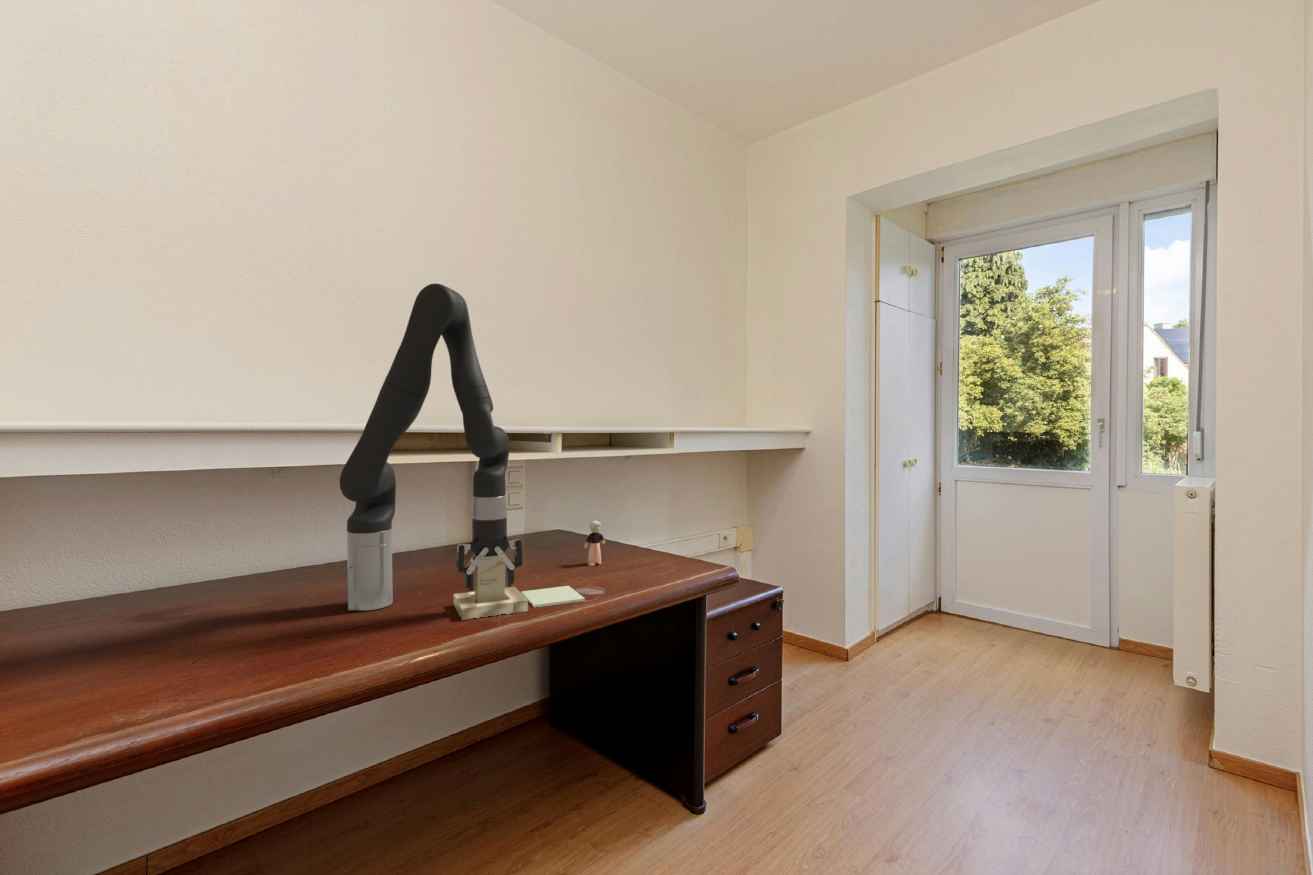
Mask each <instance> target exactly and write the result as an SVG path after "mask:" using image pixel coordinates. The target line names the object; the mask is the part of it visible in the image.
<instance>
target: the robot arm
mask: <svg viewBox="0 0 1313 875" xmlns="http://www.w3.org/2000/svg"><path fill="white" fill-rule="evenodd" d="M471 325H472V324H471V319H470V313H469V308H468V305H467V301H466V300H465V298H464V297H463V296H462V294H460V293H459V292H457V291H455V290H453V289H452V288H450V287H448V286H447V285H444V284H441V283H430V284H428V285H425V287H423V288H422V289H420V291H419V292H418V294H417V295H416V298H415V300H414V302H413V305H412V308H411V312H410V316H409V318H408V322H407V326H406V329H405V332H404V335H403V337H402V341H401V343H400V345H399V347H398V348H397V352H396V354H395V357H394V359H393V361H392V363H391V366H390V369H389V371H388V372H387V374H386V376H385V379H384V381H383V383H382V385H381V387H380V390H379V393H378V395H377V398H376V400H375V404H374V405H373V408H372V410H371V412H370V414H369V417H368V419H367V421H366V425H365V427H364V429H363V431H362V433H361V436H360V438H359V439H358V442H357V444H356V445H355V447H354V448H353V450H352V452H351V453H350V455H349V457H348V458H347V461H346V462H345V464H344V466H343V468H342V470H341V472H340V477H339V489H340V491H341V494H342V496H343V497H345V498H346V499H347V500H348V501H351V502H353V503H354V502H355V507H354V510H353V511H352V513H351V514H350V516H349V517H348V518H347V520H346V540H347V541H346V542H347V545H346V546H347V547H346V550H347V552H346V555H347V556H346V557H347V559H346V560H347V565H346V566H347V572H346V573H347V611H361V612H362V611H374V610H378V609H383V608H386V607H388V606H391V605H392V604H393V602H394V601H393V599H394V598H393V594H394V592H393V533H392V532H393V529H392V528H393V525H392V523H393V519H394V516H395V513H396V498H397V496H396V495H397V488H396V487H397V483H396V482H397V480H396V474H395V471H394V470H395V469H394V468H393V467H392V465H391V464H390V463H389V462H388V459H389V456H390V454H391V453H392V450H393V449H394V447H395V446H396V444H397V443H398V441H400V439H401V438H402V436H403V435H404V434H405V433H406V431H408V429H409V428H410V427H411V425H413V423H414V422H415V421H416V419H417V417H418V416H419V414H420V412H421V410H422V407H423V405H424V402H425V400H426V399H427V396H428V393H429V390H430V386H431V382H432V380H431V379H432V365H433V359H434V358H433V357H434V353H435V350H436V347H437V345H438V343H439V340H440V338H441V337H442V339H443V341H444V344H445V346H446V348H447V352H448V356H449V363H450V376H451V383H452V384H451V385H452V388H453V391H454V395H455V398H456V400H457V403H458V405H459V408H460V412H461V414H462V424H463V430H464V437H465V441H466V444H467V446H468V448H469V451H470V452H471V453H472V454H473V455H474V456H475V457H476V458H478V460H479V461H478V468H477V470H475V472H474V473H473V476H472V477H473V478H472V504H471V543H470V544H469V543H467V544H466V543H465V544H464V543H461V542H460V543H458V544H457V545H456V564H455V565H456V566H455V569H456V570H457V571H458V573H462V574H464V586H465V587H466V589H468V592H474V574H473V572H475V568H476V567H477V566H478V561H477V560H478V557H484V556H496V555H499V556H504V555H505V567H506V568H505V586H507V588H509V587H512V584H514V582H515V569H516V568H519V567H522V566H523V551H522V550H523V548H522V546H523V545H522V541H521V540H520V539H518V538H514V539H513V540H512V539H511V540H509V539H508V523H507V522H508V505H507V503H508V502H507V499H506V496H507V495H506V472H507V468H508V463H509V462H508V461H509V456H510V455H509V454H510V439H509V436H508V434H507V432H506V431H505V430H504V429H503V428H501V427H500V426H496V425H494V422H493V418H492V412H493V410H494V403H493V400H492V397H491V393H490V392H489V389H488V385H487V382H486V380H485V376H484V374H483V372H482V367H481V365H480V362H479V358H478V354H477V350H476V346H475V342H474V338H473V332H472V326H471ZM509 547H511V549H512V550H513V553H514V556H513V557H514V560H513V561H511V560H510V559H509V557H508V556H507V555H506V551H507V550H508V549H509ZM469 550H470V551H471V552H472V553H473V555H472V557H471V558H470V560H469V561H468V564H467V565H466V566H465V555H467V554H468V552H469ZM476 556H477V557H476ZM475 557H476V558H475Z"/></svg>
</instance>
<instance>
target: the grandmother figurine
mask: <svg viewBox="0 0 1313 875" xmlns="http://www.w3.org/2000/svg"><path fill="white" fill-rule="evenodd" d="M601 527H602V524H601V522H600V521H597V520H593V521H592V522H590V523H589V529H590V531H591V533H589V535H588V537H586V539H585V542H584V545H583V548H584V549H588V553H587V554H588V556H587V557H588V559H587V566H589V567H593V566H594V565H595V566H596V565H597V564H599V565H602V553H601V546H600V545H601V544H602V545H605V544H606V540H605V537H604V535H603V534H602V533H600V530H601ZM588 546H589V548H588Z"/></svg>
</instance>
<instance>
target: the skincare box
mask: <svg viewBox="0 0 1313 875" xmlns="http://www.w3.org/2000/svg"><path fill="white" fill-rule="evenodd" d="M505 555H506V554H505ZM505 555H504V556H499V555H496V556H484V557H478V560H477V561H478V566H477V567H476V568H475V569H474V592H475V603H476V604H479V603H487V602H495V601H503V600H505V588H506V564H505ZM476 557H477V556H476ZM476 557H475V558H476Z"/></svg>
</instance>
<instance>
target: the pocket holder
mask: <svg viewBox="0 0 1313 875" xmlns="http://www.w3.org/2000/svg"><path fill="white" fill-rule="evenodd" d="M453 606H454V608H455V610H456V612H457V614H458V616H459V618H460V617H461V618H460V619H461V621H462V620H463V621H469V619H470V620H474V619H473V618H477V619H481V618H480V617H484V618H489V617H488V616H492V617H497V615H499V616H502V615H501V614H506V615H512V614H511V613H513V614H518V613H519V614H520V613H526V612H527V611H529V610H528V609H529V602H528V600H527V599H526V598H525V597H524V596H523V595H522V594H521V591H520V590H518V588H516V586H510V587H505V600H503V601H495V602H487V603H479V604H476V603H475V591H468V592H461V593H459V592H458V593H453Z"/></svg>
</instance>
